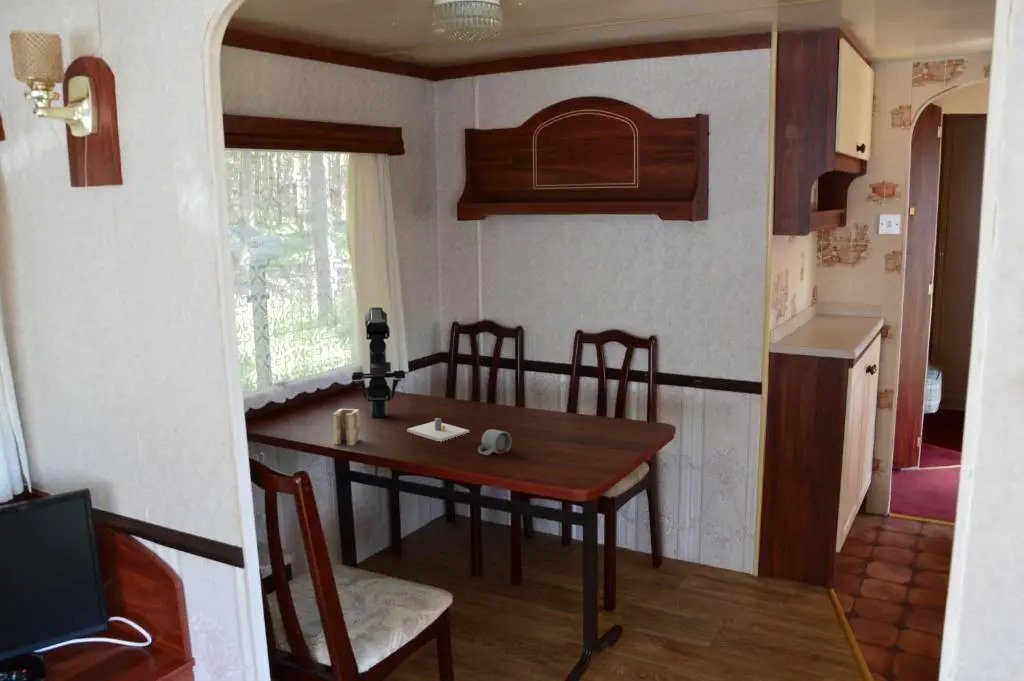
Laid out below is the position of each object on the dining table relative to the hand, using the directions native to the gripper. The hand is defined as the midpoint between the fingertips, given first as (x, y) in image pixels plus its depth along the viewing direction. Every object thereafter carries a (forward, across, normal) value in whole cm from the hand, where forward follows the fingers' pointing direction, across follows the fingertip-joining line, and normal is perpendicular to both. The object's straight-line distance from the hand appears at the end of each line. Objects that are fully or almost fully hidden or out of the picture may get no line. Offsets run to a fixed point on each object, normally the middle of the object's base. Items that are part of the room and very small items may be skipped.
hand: (379, 399), depth 303 cm
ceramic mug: (+20, +37, -21) cm, 47 cm away
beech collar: (+14, -12, -2) cm, 18 cm away
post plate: (+13, +21, +4) cm, 25 cm away
